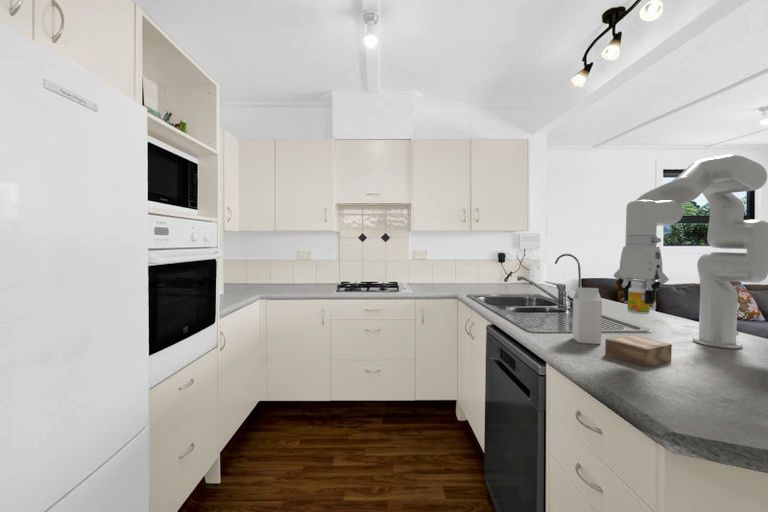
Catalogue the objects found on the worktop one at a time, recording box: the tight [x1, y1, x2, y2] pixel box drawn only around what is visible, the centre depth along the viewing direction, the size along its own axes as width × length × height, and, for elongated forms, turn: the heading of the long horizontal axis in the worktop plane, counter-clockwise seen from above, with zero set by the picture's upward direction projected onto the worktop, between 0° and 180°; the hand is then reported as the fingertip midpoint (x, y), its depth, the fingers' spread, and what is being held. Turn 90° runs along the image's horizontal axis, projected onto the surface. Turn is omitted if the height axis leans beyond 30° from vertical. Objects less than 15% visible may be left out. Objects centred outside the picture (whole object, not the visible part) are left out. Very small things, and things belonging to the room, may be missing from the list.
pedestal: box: [604, 334, 673, 368], centre depth 110 cm, size 12×12×5 cm
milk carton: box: [571, 287, 603, 345], centre depth 128 cm, size 7×7×19 cm
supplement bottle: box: [627, 279, 651, 315], centre depth 109 cm, size 5×5×10 cm
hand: (638, 301), depth 109 cm, fingers closed on supplement bottle, 5 cm apart
